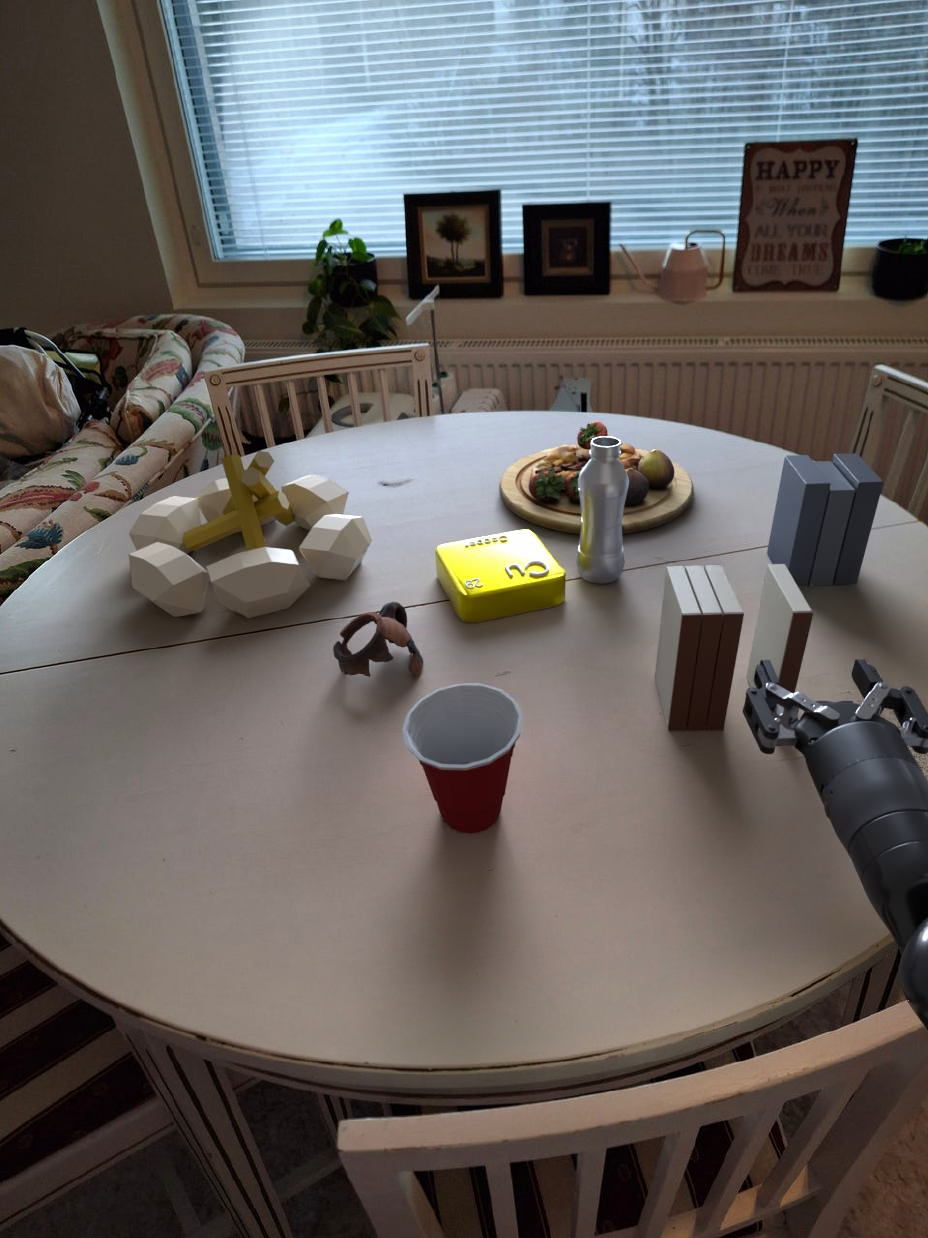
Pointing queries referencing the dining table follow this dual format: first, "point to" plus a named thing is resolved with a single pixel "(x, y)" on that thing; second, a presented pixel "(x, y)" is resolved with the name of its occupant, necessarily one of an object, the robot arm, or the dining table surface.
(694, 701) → the white books
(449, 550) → the element tile
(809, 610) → the cream book
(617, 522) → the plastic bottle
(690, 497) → the wooden plate
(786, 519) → the grey books
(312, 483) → the campfire
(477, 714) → the plastic cup
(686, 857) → the dining table surface
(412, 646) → the brown looped sculpture
